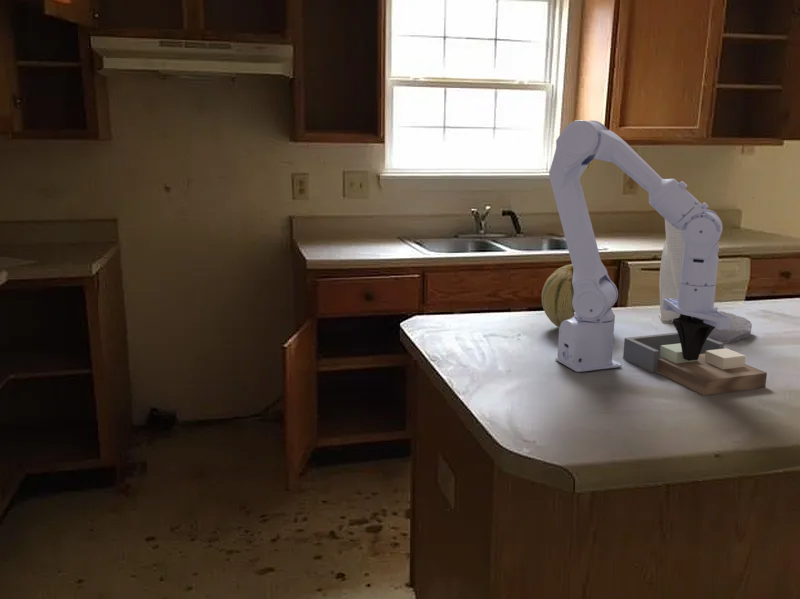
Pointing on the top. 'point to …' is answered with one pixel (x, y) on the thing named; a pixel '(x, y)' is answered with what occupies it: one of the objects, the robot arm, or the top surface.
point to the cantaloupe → (559, 295)
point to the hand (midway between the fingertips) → (690, 359)
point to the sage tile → (673, 353)
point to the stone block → (732, 329)
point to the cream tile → (724, 358)
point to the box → (656, 349)
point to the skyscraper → (670, 270)
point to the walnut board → (712, 376)
